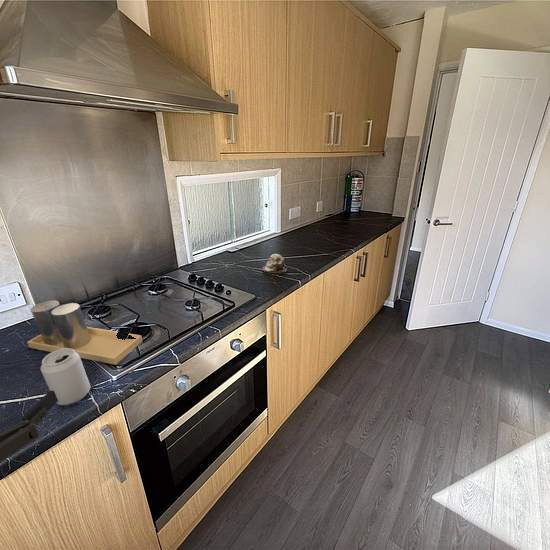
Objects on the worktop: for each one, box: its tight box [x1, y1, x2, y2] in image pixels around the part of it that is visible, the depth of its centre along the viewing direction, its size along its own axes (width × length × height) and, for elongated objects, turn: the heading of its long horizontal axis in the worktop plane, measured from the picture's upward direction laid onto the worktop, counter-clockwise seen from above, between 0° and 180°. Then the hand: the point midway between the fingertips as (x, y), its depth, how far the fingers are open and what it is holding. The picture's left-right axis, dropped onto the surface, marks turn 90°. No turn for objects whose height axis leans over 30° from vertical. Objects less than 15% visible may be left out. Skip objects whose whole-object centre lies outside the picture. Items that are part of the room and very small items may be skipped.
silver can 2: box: [51, 302, 90, 349], centre depth 89 cm, size 7×7×12 cm
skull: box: [261, 253, 288, 275], centre depth 142 cm, size 12×10×10 cm
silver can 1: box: [30, 299, 62, 345], centre depth 91 cm, size 7×7×12 cm
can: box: [40, 348, 91, 406], centre depth 69 cm, size 8×8×12 cm
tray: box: [26, 326, 143, 366], centre depth 90 cm, size 32×11×2 cm, turn 74°
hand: (23, 393), depth 59 cm, fingers open, 13 cm apart
